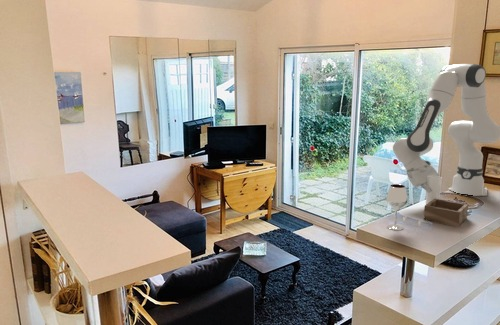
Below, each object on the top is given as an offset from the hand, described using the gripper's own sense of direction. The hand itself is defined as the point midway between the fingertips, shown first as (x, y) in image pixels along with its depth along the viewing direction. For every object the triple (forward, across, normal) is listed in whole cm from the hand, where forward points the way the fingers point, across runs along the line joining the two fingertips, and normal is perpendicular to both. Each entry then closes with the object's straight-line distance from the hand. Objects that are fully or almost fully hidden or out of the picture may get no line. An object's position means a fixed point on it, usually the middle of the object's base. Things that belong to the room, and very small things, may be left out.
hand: (434, 190), depth 188 cm
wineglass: (+8, -38, +4) cm, 39 cm away
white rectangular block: (+6, 0, +6) cm, 9 cm away
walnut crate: (+14, -12, -2) cm, 19 cm away
